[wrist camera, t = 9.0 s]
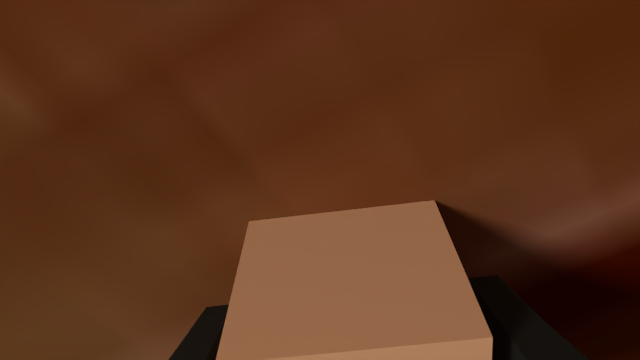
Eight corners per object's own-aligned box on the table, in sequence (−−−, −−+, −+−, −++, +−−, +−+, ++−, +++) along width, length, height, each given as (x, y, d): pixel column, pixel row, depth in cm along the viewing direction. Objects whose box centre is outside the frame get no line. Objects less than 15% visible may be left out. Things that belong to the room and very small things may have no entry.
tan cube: (280, 352, 14) (264, 520, 10) (249, 219, 12) (214, 364, 8) (437, 336, 14) (486, 503, 10) (433, 198, 12) (493, 337, 8)
